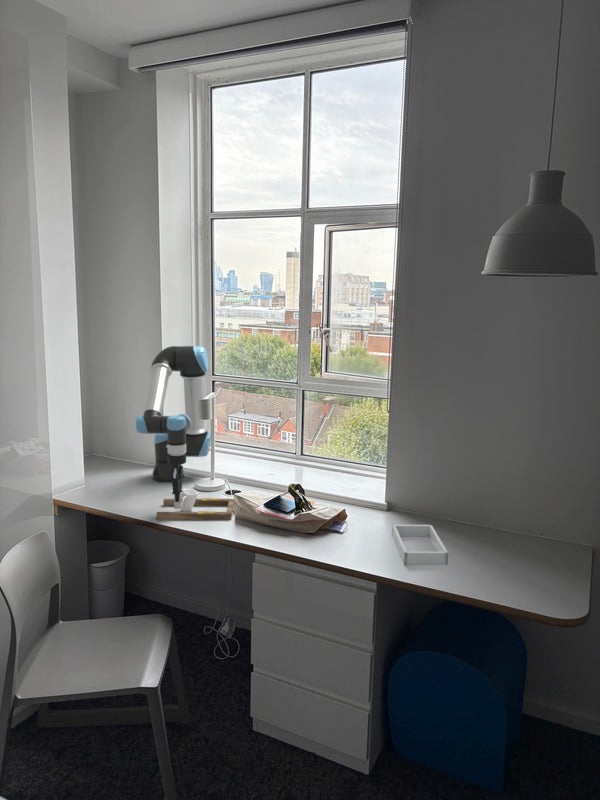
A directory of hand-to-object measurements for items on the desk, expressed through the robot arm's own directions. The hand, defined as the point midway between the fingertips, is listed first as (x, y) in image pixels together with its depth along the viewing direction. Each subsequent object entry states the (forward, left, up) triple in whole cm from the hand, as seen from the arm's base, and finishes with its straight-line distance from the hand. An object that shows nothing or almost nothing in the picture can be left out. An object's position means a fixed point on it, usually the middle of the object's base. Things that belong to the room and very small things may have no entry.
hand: (177, 508), depth 254 cm
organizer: (+37, +93, -2) cm, 100 cm away
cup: (0, +3, -2) cm, 3 cm away
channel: (0, +7, -2) cm, 7 cm away
